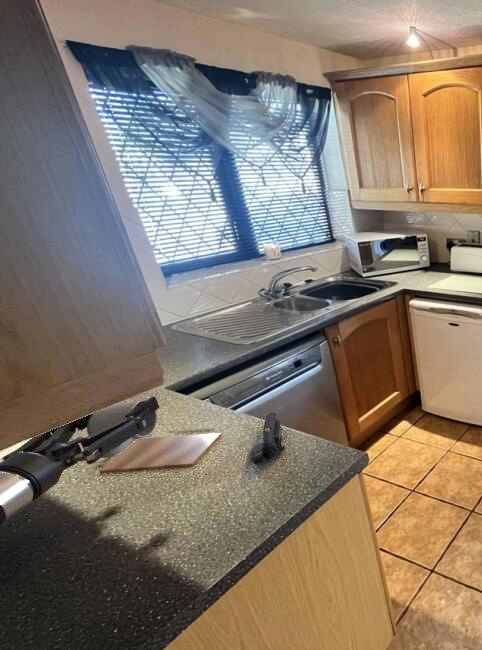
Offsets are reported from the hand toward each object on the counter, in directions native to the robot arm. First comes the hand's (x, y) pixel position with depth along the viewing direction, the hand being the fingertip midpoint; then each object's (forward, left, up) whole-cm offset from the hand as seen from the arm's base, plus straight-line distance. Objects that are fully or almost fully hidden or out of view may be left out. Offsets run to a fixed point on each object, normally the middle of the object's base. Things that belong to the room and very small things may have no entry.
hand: (131, 403), depth 81 cm
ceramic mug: (+1, -4, -6) cm, 8 cm away
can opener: (+21, +7, -18) cm, 29 cm away
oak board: (-3, +6, -18) cm, 19 cm away
